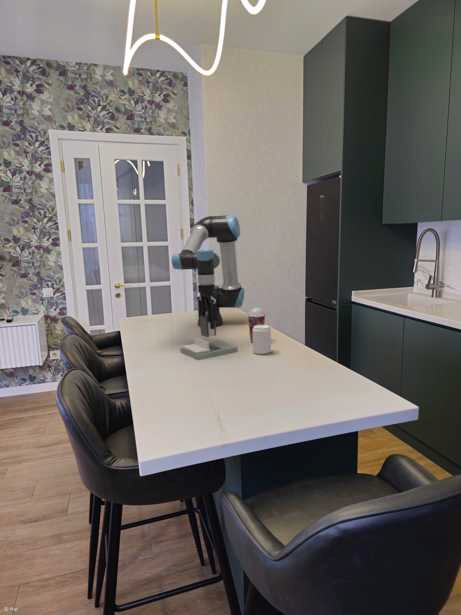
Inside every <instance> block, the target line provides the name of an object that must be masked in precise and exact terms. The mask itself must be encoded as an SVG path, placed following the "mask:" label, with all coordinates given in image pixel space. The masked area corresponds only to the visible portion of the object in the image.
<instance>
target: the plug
mask: <svg viewBox="0 0 461 615" xmlns="http://www.w3.org/2000/svg"><path fill="white" fill-rule="evenodd" d="M208 321H209V317H208V311H206V312H205V315H203V316H200V324H201V326H200V335H201V336H202V337H204V338H205V337H206V338H209V337H210V338H211V336H209V332H208ZM216 327H217V326H216V321H215V322H214V333H215V335H214V336H213V337H215V336H217V328H216Z"/></svg>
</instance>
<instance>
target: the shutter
mask: <svg viewBox="0 0 461 615" xmlns="http://www.w3.org/2000/svg"><path fill="white" fill-rule="evenodd" d="M193 341H194V343H192V344H187V345H186V344H185V345H182V347H181V348H184V349H186V350H189V351H191V352H193V353H196V354H199V353H204V352H208V351H211V349H210V348H209V342H210V341H208V340H207V341H206V340H204V339H202V338H199V337H194V340H193Z"/></svg>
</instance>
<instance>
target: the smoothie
mask: <svg viewBox="0 0 461 615" xmlns="http://www.w3.org/2000/svg"><path fill="white" fill-rule="evenodd" d="M247 316H248V330H249V338H250V339H249V340H250V341H251V343H252V344H253V328H254V326H256V325H266V324H265V320H266V319H265V318H266V314H265V312H264V310H263V309H262V308H260V307H258V302H257V301H255V307H253V308H251V309H250V310H249V313H248V314H247Z"/></svg>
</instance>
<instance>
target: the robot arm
mask: <svg viewBox="0 0 461 615" xmlns="http://www.w3.org/2000/svg"><path fill="white" fill-rule="evenodd" d="M240 236H241V228H240V223H239V220H238V217H237V216H236V215H229V214H228V215H227V214H225V215H213V216H212V215H210V216H209V215H208V216H205V217H203V218H201V219H200V220H198V221H196V223H195V224H193V226H192V228H191V230H190V235H189V237H188V239H187V240H186V242H185V244H184V246H183V248H182V249H181V251H180V253H179V252H178V253H173V255H172V256H171V265H172V267H173V269H174V270H180V271H181V270H197V284H198V285H197V291H198V293H199V295H198V296H197V297H196V299H197V310H198V311H197V315H198V320H197V326H198V327H201V324H200V316H203V315H205V312H206V311H208V317H209V321H208V332H209V336H210V337H215V336H216V335H215V333H214V322H215V321H216V327H220V326H221V327H222V326H223V325H224V321H223V317H222V314H221V310H220V308H227V309H229V308H231V309H233V308H234V309H235V308H242V306H243V304H244V298H245V288H244V287H242V284H241V283H240V282H239V276H238V264H237V250H236V248H237V247H236V242H237V241H238V238H240ZM215 238H216V242H217V243H218V245H219V250H220V256H219V254H217V253H215V252H214V250H213V249H211V248H204V249H201V248H202V246H203V243H204V241H206V240H207V239H215ZM220 263H221V272H222V282H223V283H222V284H221V286H219V285H215V283H216V281H215V269H216V268H217V267H218V266H219V265H220ZM214 335H215V336H214Z"/></svg>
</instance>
